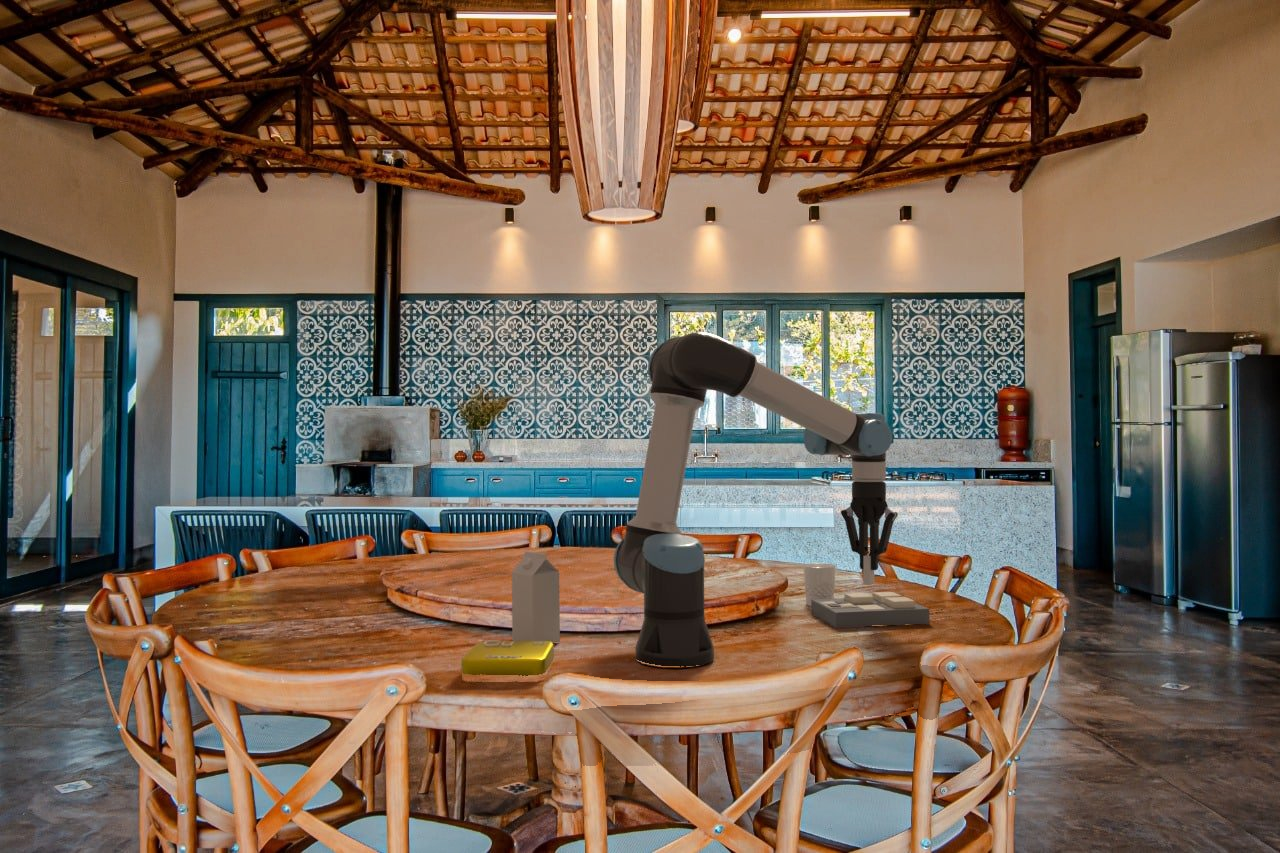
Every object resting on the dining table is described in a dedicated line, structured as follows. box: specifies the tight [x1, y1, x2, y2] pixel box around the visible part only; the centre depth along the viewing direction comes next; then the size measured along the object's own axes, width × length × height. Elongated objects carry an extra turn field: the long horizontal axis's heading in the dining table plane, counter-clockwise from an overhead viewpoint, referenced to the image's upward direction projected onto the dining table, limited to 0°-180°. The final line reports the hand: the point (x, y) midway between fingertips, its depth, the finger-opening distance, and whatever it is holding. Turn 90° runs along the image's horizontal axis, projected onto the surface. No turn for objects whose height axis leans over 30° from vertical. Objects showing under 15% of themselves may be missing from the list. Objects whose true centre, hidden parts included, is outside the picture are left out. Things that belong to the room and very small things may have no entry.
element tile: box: [461, 639, 555, 676], centre depth 163 cm, size 15×15×5 cm
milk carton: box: [511, 550, 561, 643], centre depth 185 cm, size 7×7×19 cm
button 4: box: [885, 596, 916, 609], centre depth 203 cm, size 5×5×2 cm
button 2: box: [856, 605, 885, 610], centre depth 202 cm, size 5×5×2 cm
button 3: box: [871, 591, 902, 603], centre depth 210 cm, size 5×5×2 cm
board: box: [811, 597, 930, 629], centre depth 206 cm, size 22×16×4 cm
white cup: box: [803, 562, 836, 607], centre depth 224 cm, size 8×8×10 cm
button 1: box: [844, 592, 873, 604], centre depth 209 cm, size 5×5×2 cm
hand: (868, 584), depth 202 cm, fingers closed
